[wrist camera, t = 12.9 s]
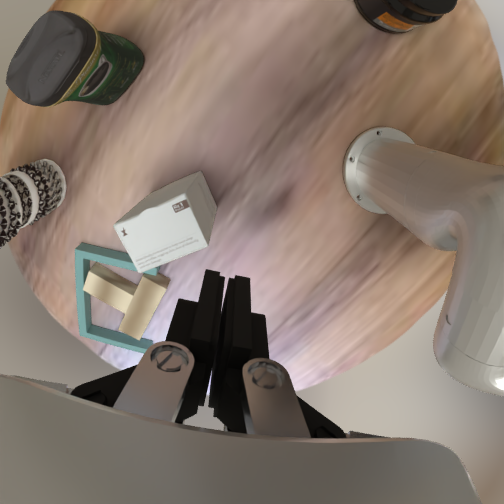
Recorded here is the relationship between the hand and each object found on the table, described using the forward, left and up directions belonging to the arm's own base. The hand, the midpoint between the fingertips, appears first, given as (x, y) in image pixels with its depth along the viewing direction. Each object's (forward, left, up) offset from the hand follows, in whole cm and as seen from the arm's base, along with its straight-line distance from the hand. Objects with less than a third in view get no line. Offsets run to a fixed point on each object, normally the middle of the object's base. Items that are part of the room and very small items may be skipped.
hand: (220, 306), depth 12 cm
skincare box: (+6, +6, -32) cm, 33 cm away
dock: (+14, +25, -32) cm, 43 cm away
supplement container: (-14, -30, -32) cm, 46 cm away
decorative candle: (+29, +8, -32) cm, 44 cm away
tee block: (+14, +23, -32) cm, 42 cm away
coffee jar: (+20, -10, -32) cm, 39 cm away
